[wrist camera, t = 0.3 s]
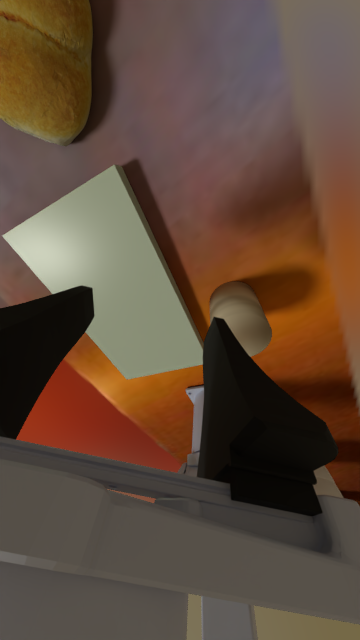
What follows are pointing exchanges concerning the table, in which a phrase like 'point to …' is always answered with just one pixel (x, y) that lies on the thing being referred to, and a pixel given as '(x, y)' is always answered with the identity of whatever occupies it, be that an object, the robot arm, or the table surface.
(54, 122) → the bread roll
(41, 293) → the table surface
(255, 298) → the maple cylinder
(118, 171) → the green board
